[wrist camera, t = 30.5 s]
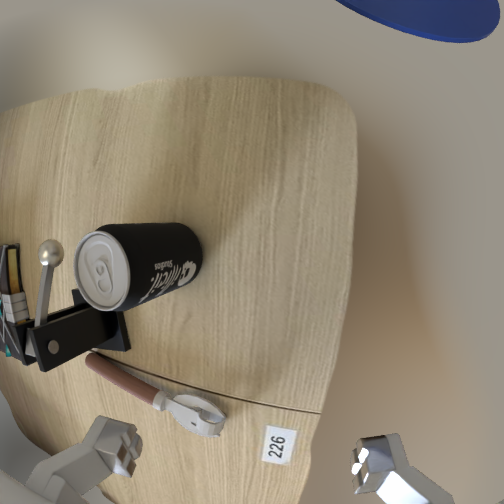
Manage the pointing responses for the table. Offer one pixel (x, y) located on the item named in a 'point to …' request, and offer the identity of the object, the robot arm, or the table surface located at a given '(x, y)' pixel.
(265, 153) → the table surface
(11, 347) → the book
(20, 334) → the black lever stand
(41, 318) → the lever
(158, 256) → the beverage can
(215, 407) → the pizza cutter
